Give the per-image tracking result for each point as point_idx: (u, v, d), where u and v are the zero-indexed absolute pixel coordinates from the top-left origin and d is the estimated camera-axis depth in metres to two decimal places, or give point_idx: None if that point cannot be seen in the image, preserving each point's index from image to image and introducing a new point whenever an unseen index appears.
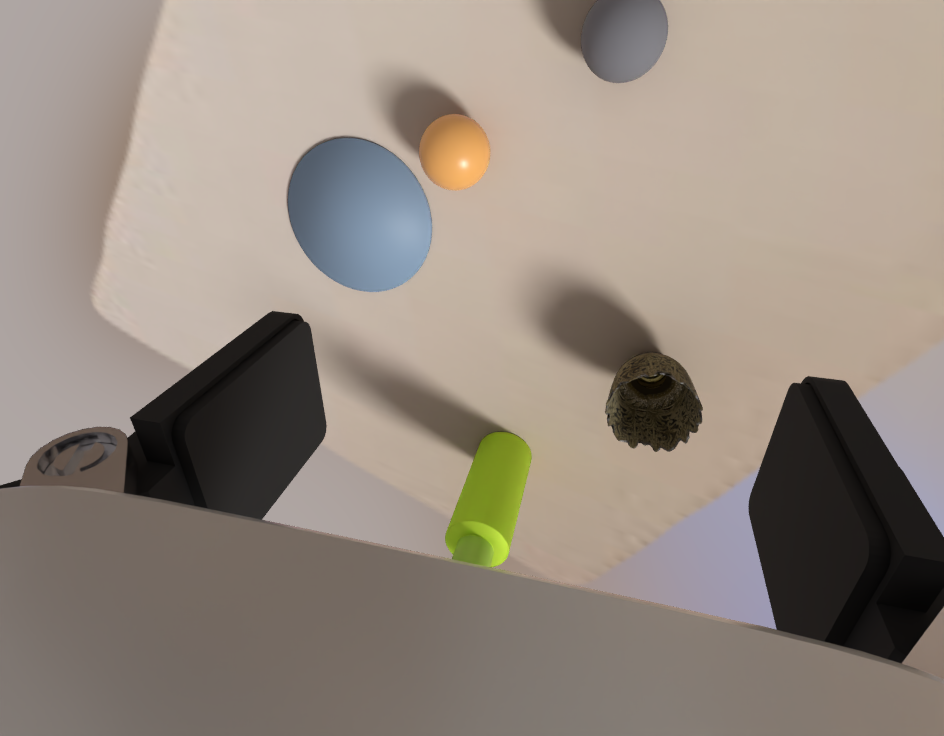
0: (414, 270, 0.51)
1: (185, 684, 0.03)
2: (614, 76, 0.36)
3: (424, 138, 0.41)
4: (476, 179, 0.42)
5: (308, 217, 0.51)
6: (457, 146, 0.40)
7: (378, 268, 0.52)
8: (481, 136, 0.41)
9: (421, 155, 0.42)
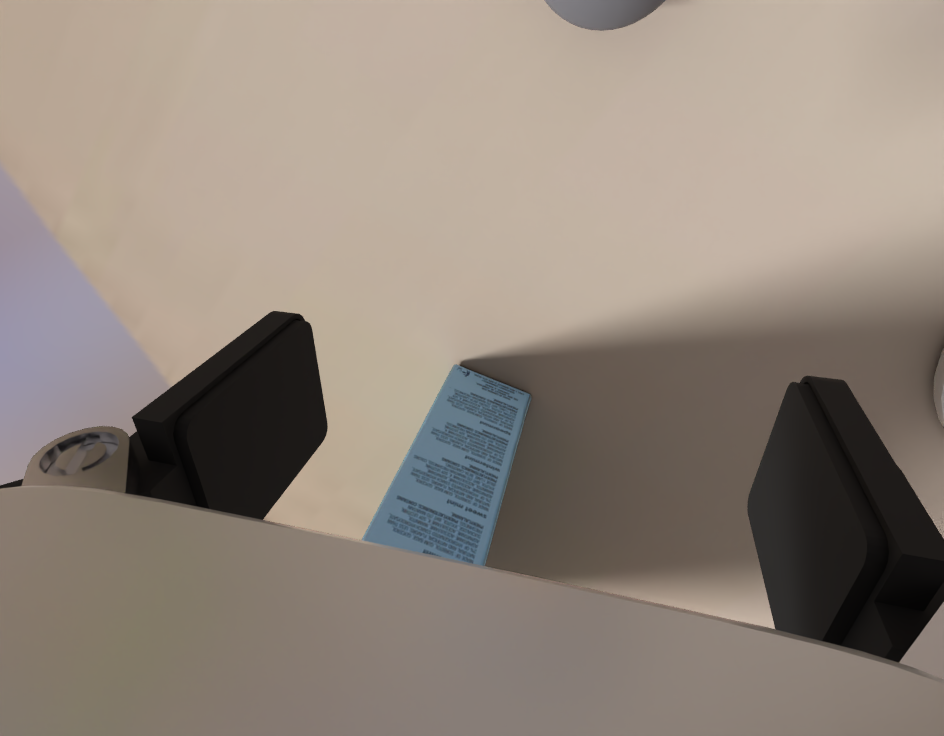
0: None
1: (185, 684, 0.03)
2: None
3: None
4: None
5: None
6: None
7: None
8: None
9: None
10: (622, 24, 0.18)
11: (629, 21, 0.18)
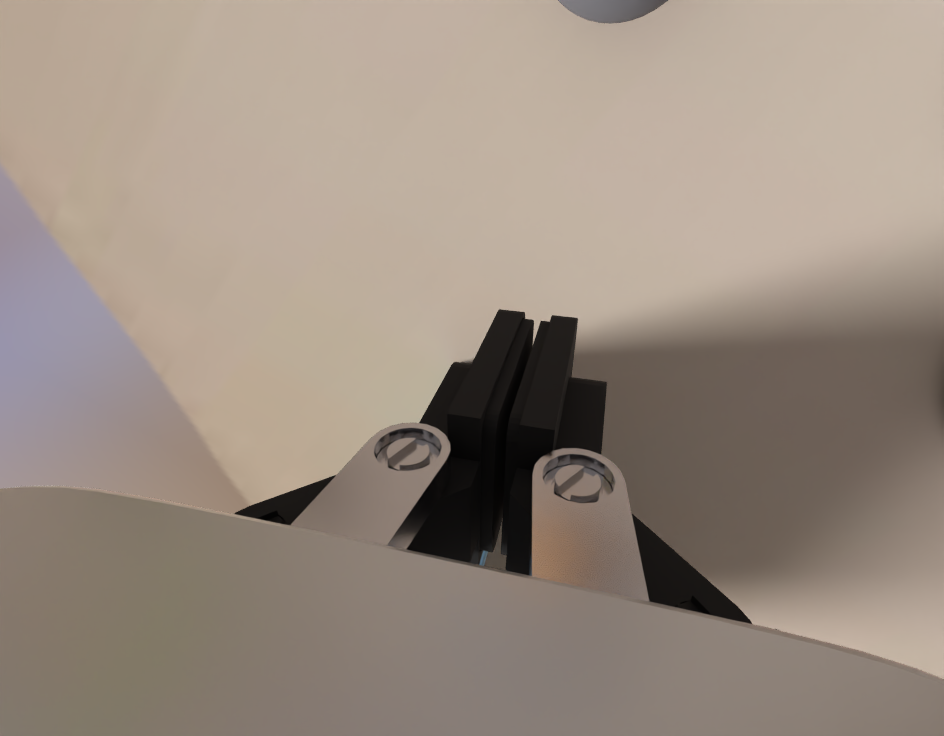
0: None
1: (185, 684, 0.03)
2: None
3: None
4: None
5: None
6: None
7: None
8: None
9: None
10: (631, 17, 0.18)
11: (638, 14, 0.18)
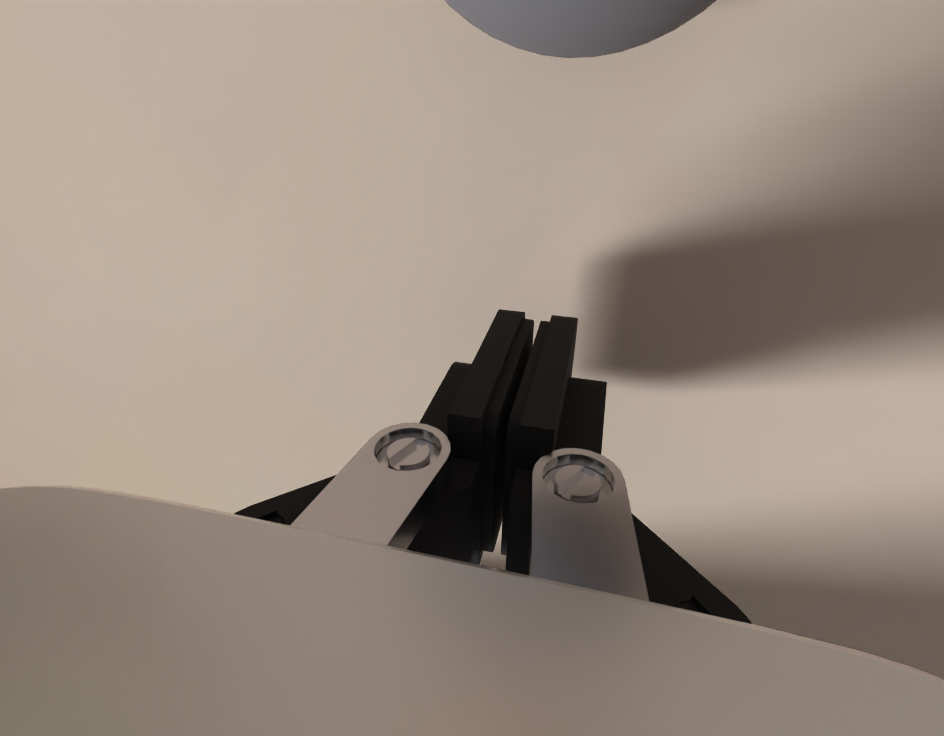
0: None
1: (185, 684, 0.03)
2: None
3: None
4: None
5: None
6: None
7: None
8: None
9: None
10: (618, 46, 0.07)
11: (636, 39, 0.07)
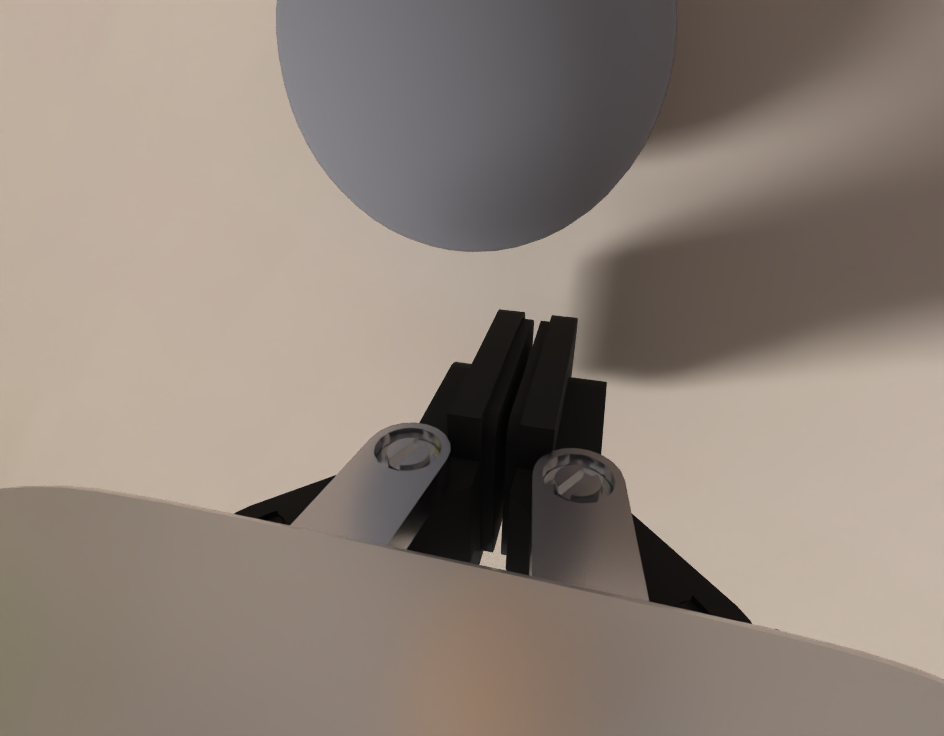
0: None
1: (185, 684, 0.03)
2: None
3: None
4: None
5: None
6: None
7: None
8: None
9: None
10: None
11: None
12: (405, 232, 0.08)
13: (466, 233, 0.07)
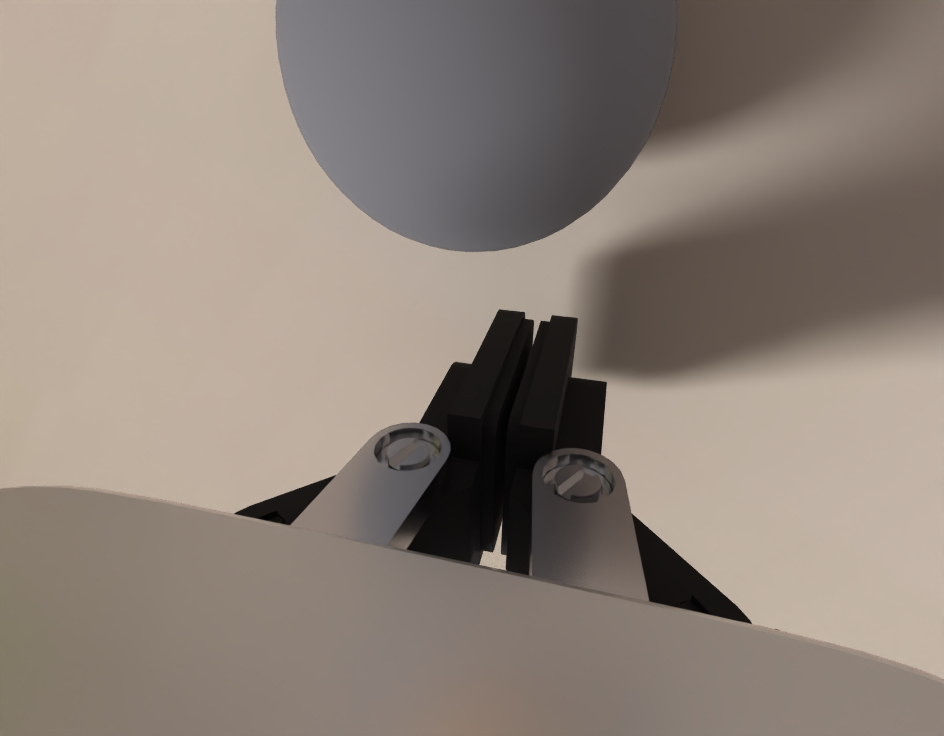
0: None
1: (185, 684, 0.03)
2: None
3: None
4: None
5: None
6: None
7: None
8: None
9: None
10: None
11: None
12: (405, 232, 0.08)
13: (465, 233, 0.07)
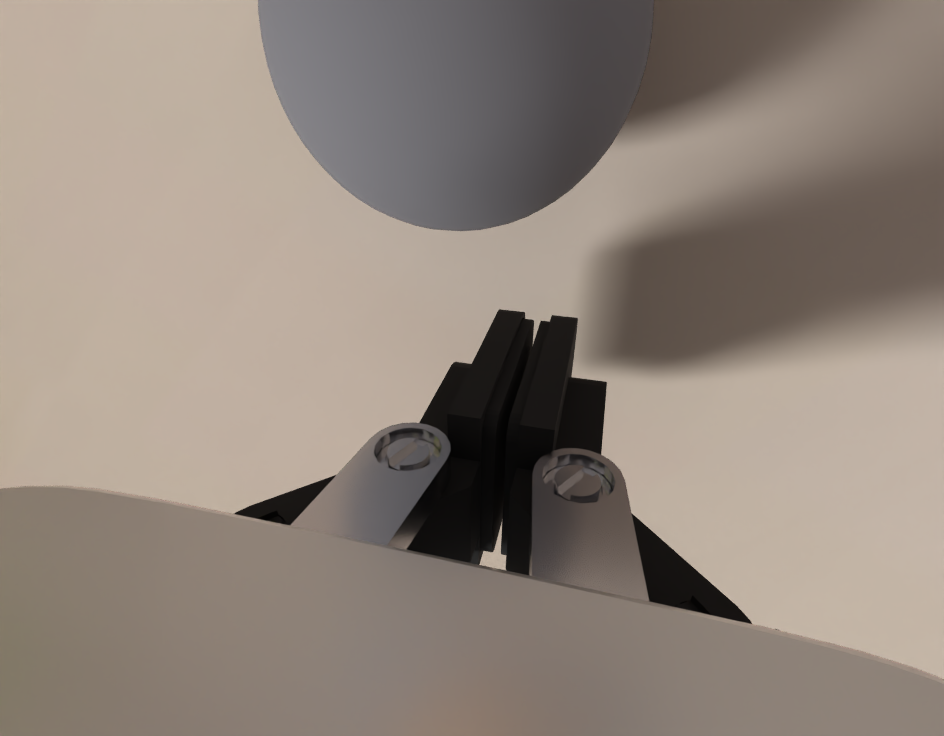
0: None
1: (185, 684, 0.03)
2: None
3: None
4: None
5: None
6: None
7: None
8: None
9: None
10: None
11: None
12: (389, 211, 0.08)
13: (448, 210, 0.08)
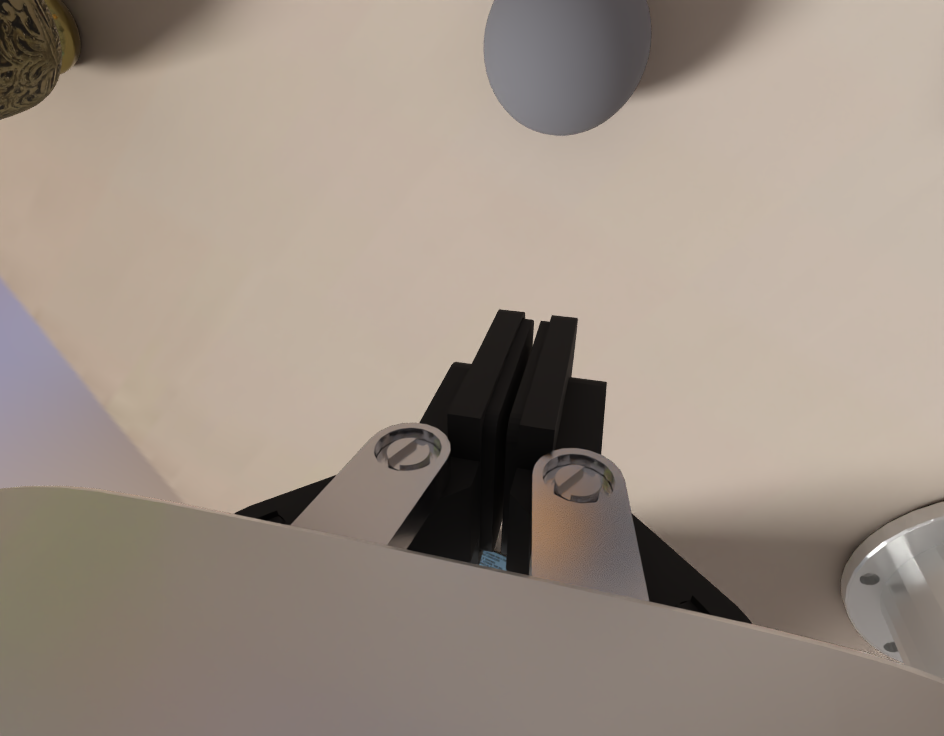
0: None
1: (185, 684, 0.03)
2: None
3: None
4: None
5: None
6: None
7: None
8: None
9: None
10: None
11: None
12: (535, 121, 0.18)
13: (564, 119, 0.18)
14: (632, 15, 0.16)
